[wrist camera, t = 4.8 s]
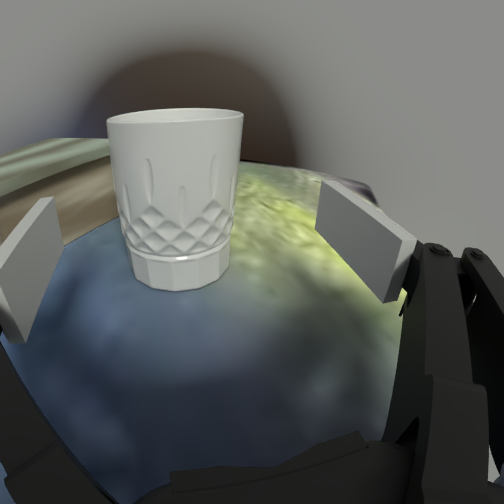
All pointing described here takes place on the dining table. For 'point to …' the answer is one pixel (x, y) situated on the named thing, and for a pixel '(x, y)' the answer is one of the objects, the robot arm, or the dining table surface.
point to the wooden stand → (59, 184)
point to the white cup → (176, 192)
